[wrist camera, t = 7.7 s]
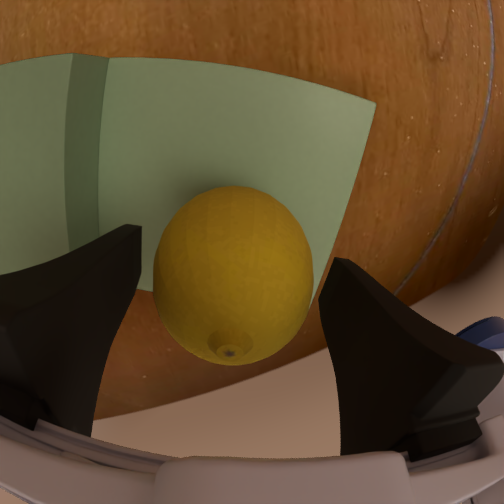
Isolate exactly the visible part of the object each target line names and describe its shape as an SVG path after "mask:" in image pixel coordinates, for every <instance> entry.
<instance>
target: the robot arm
mask: <svg viewBox="0 0 504 504" xmlns="http://www.w3.org/2000/svg"><path fill="white" fill-rule="evenodd" d="M141 273H142V226H139V225H132V224H124V225H122V226H120V227H118V228H116V229H114V230H112V231H110V232H108V233H106V234H104V235H102V236H101V237H99V238H97V239H95V240H93V241H91V242H89V243H87V244H85V245H83V246H81V247H79V248H77V249H75V250H73V251H71V252H69V253H67V254H65V255H62V256H60V257H58V258H55V259H52V260H50V261H47V262H45V263H42V264H39V265H35V266H32V267H29V268H26V269H22V270H19V271H15V272H11V273H7V274H2V275H0V488H2V489H4V490H5V491H7V492H9V493H10V494H12V495H14V496H16V497H18V498H20V499H21V500H23V501H25V502H27V503H29V504H459V503H461V502H462V504H504V348H500V349H490V350H489V349H486V348H484V347H481V346H478V345H475V344H473V343H470V342H468V341H466V340H464V339H462V338H460V337H457V336H455V335H453V334H451V333H449V332H447V331H445V330H444V329H442V328H440V327H438V326H437V325H435V324H433V323H432V322H430V321H429V320H427V319H425V318H424V317H422V316H421V315H419V314H418V313H416V312H415V311H414V310H412V309H411V308H409V307H408V306H407V305H405V304H404V303H403V302H401V301H400V300H399V299H398V298H396V297H395V296H394V295H393V294H391V293H390V292H389V291H388V290H387V289H385V288H384V287H383V286H382V285H381V284H379V283H378V282H377V281H376V280H375V279H374V278H372V277H371V276H370V275H369V274H368V273H366V272H365V271H364V270H363V269H362V268H360V267H359V266H358V265H356V264H355V263H354V262H352V261H351V260H349V259H343V258H337V257H334V260H333V263H332V265H331V268H330V271H329V273H328V276H327V278H326V281H325V283H324V286H323V289H322V291H321V294H320V296H319V298H318V302H319V311H320V318H321V323H322V327H323V331H324V334H325V338H326V342H327V345H328V349H329V352H330V356H331V360H332V363H333V367H334V372H335V376H336V383H337V391H338V400H339V412H340V431H341V433H340V434H341V451H340V452H341V453H340V456H332V457H317V458H296V459H295V458H290V459H268V458H267V459H266V458H265V459H264V458H241V457H209V456H191V457H184V458H178V457H171V456H166V455H160V454H154V453H150V452H145V451H140V450H136V449H131V448H127V447H123V446H119V445H115V444H112V443H108V442H104V441H101V440H97V439H94V438H91V432H92V425H93V418H94V412H95V407H96V401H97V396H98V391H99V387H100V383H101V379H102V375H103V371H104V367H105V364H106V360H107V357H108V354H109V350H110V347H111V345H112V342H113V340H114V337H115V335H116V333H117V331H118V328H119V326H120V324H121V322H122V320H123V318H124V316H125V313H126V311H127V309H128V307H129V305H130V303H131V301H132V299H133V296H134V294H135V291H136V288H137V286H138V282H139V279H140V276H141Z"/></svg>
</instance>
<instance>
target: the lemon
mask: <svg viewBox="0 0 504 504" xmlns="http://www.w3.org/2000/svg"><path fill="white" fill-rule="evenodd" d="M313 286H314V274H313V261H312V253H311V249H310V246H309V244H308V241H307V239H306V236H305V234H304V231H303V229H302V227H301V225H300V224H299V222H298V221H297V220H296V218H295V217H294V216H293V215H292V213H291V212H290V211H289V210H288V208H287V207H286V206H285V205H283V204H282V203H280V202H279V201H278V200H276V199H275V198H273V197H272V196H271V195H269V194H267V193H264V192H262V191H259V190H257V189H254V188H251V187H243V186H226V187H218V188H214V189H212V190H209V191H206V192H204V193H201V194H199V195H197V196H195V197H194V198H193V199H191V200H190V201H189V202H188V203H186V204H185V205H184V206H182V207H181V208H180V209H179V210H178V211H177V213H176V214H175V215H174V217H173V218H172V219H171V221H170V222H169V223H168V225H167V226H166V228H165V229H164V231H163V234H162V236H161V239H160V242H159V244H158V247H157V250H156V253H155V257H154V264H153V296H154V300H155V304H156V307H157V310H158V313H159V317H160V319H161V321H162V323H163V324H164V326H165V327H166V329H167V331H168V332H169V334H170V335H171V336H172V337H173V338H174V339H175V340H176V341H177V342H178V343H179V344H180V345H181V346H182V347H183V348H184V349H186V350H187V351H189V352H190V353H192V354H194V355H196V356H197V357H199V358H201V359H204V360H207V361H209V362H212V363H217V364H223V365H243V364H249V363H253V362H256V361H259V360H262V359H265V358H267V357H269V356H271V355H272V354H274V353H276V352H277V351H279V350H280V349H282V348H283V347H284V346H285V345H286V344H287V343H288V342H289V341H290V340H291V339H292V338H293V337H294V336H295V335H296V333H297V332H298V330H299V329H300V327H301V325H302V324H303V322H304V320H305V319H306V316H307V314H308V310H309V306H310V302H311V298H312V293H313Z"/></svg>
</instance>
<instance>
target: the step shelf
mask: <svg viewBox="0 0 504 504" xmlns="http://www.w3.org/2000/svg"><path fill="white" fill-rule="evenodd" d="M375 108H376V103H375V102H372V101H370V100H367V99H364V98H361V97H358V96H355V95H352V94H349V93H346V92H343V91H340V90H337V89H333V88H330V87H327V86H323V85H320V84H316V83H312V82H309V81H305V80H301V79H297V78H293V77H289V76H284V75H280V74H275V73H271V72H266V71H261V70H255V69H250V68H244V67H238V66H232V65H225V64H218V63H210V62H201V61H192V60H180V59H165V58H139V57H115V58H107V57H100V56H93V55H86V54H77V53H67V54H58V55H51V56H44V57H37V58H31V59H26V60H21V61H16V62H11V63H6V64H2V65H0V275H2V274H7V273H11V272H15V271H19V270H22V269H26V268H29V267H32V266H35V265H39V264H42V263H45V262H47V261H50V260H52V259H55V258H58V257H60V256H62V255H65V254H67V253H69V252H71V251H73V250H75V249H77V248H79V247H81V246H83V245H85V244H87V243H89V242H91V241H93V240H95V239H97V238H99V237H101V236H102V235H104V234H106V233H108V232H110V231H112V230H114V229H116V228H118V227H120V226H122V225H124V224H132V225H139V226H142V273H141V276H140V279H139V282H138V286H137V288H136V289H141V290H146V291H152V292H153V264H154V257H155V253H156V250H157V247H158V244H159V242H160V239H161V236H162V234H163V231H164V229H165V228H166V226H167V225H168V223H169V222H170V221H171V219H172V218H173V217H174V215H175V214H176V213H177V211H178V210H179V209H180V208H181V207H182V206H184V205H185V204H186V203H188V202H189V201H190V200H191V199H193V198H194V197H195V196H197V195H199V194H201V193H204V192H206V191H209V190H212V189H214V188H218V187H226V186H243V187H251V188H254V189H257V190H259V191H262V192H264V193H267V194H269V195H271V196H272V197H273V198H275V199H276V200H278V201H279V202H280V203H282V204H283V205H285V206H286V207H287V208H288V210H289V211H290V212H291V213H292V215H293V216H294V217H295V218H296V220H297V221H298V222H299V224H300V225H301V227H302V229H303V231H304V234H305V236H306V239H307V241H308V244H309V246H310V249H311V253H312V261H313V274H314V286H313V293H312V298H311V302H310V305H311V303H312V300H313V298H314V295H315V293H316V290H317V288H318V285H319V282H320V280H321V277H322V275H323V272H324V269H325V267H326V264H327V261H328V258H329V256H330V253H331V250H332V247H333V245H334V242H335V239H336V236H337V233H338V230H339V228H340V225H341V222H342V219H343V216H344V213H345V210H346V207H347V204H348V201H349V198H350V195H351V191H352V188H353V185H354V182H355V179H356V176H357V172H358V169H359V166H360V162H361V159H362V156H363V152H364V149H365V145H366V142H367V138H368V135H369V131H370V127H371V124H372V120H373V116H374V112H375ZM309 308H310V306H309Z"/></svg>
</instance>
